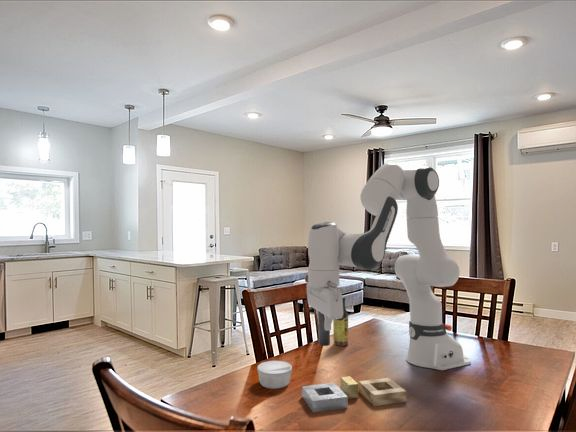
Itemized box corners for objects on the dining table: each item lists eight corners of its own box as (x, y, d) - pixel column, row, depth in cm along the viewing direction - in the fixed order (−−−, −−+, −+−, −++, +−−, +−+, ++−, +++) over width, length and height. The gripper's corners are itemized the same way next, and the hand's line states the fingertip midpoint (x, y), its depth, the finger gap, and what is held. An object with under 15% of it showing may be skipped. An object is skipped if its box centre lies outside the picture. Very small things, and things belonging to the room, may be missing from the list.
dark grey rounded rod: (327, 342, 113) (327, 307, 113) (331, 345, 110) (331, 309, 110) (317, 343, 112) (316, 308, 112) (320, 346, 109) (320, 310, 109)
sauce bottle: (348, 347, 161) (347, 298, 161) (332, 346, 162) (332, 298, 162) (348, 342, 167) (348, 295, 168) (334, 341, 168) (333, 295, 169)
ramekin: (279, 393, 117) (279, 375, 117) (249, 385, 123) (249, 368, 123) (298, 380, 126) (298, 364, 126) (270, 374, 132) (270, 358, 132)
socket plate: (334, 392, 117) (334, 382, 117) (347, 407, 107) (347, 396, 107) (302, 396, 114) (302, 386, 114) (313, 412, 104) (312, 401, 105)
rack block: (388, 387, 120) (388, 377, 120) (406, 401, 111) (406, 390, 111) (358, 391, 118) (358, 381, 118) (374, 405, 108) (374, 395, 108)
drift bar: (349, 389, 119) (349, 376, 119) (358, 397, 113) (358, 383, 113) (340, 390, 118) (340, 377, 118) (348, 398, 112) (348, 384, 113)
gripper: (348, 283, 102) (349, 337, 102) (322, 274, 122) (322, 318, 122) (326, 285, 101) (326, 339, 100) (303, 275, 120) (303, 320, 120)
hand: (324, 327), depth 111 cm, fingers closed on dark grey rounded rod, 3 cm apart
